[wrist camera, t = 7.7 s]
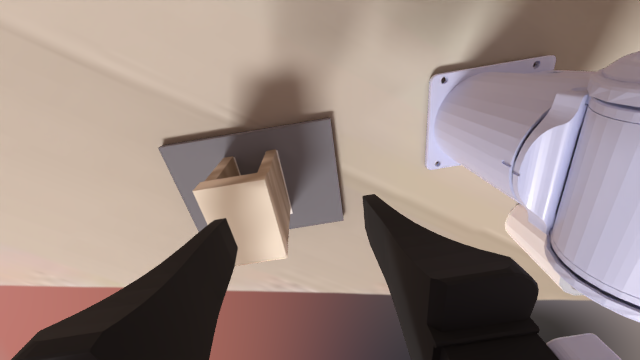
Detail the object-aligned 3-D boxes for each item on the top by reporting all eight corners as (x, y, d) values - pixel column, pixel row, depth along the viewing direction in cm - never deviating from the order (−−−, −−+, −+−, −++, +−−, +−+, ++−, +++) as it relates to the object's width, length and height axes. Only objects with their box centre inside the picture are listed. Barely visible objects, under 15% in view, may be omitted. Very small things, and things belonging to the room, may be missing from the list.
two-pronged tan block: (275, 146, 20) (264, 179, 14) (291, 210, 23) (287, 257, 17) (222, 155, 20) (192, 191, 14) (245, 218, 23) (227, 267, 17)
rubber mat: (329, 117, 20) (330, 119, 19) (342, 216, 24) (343, 221, 23) (162, 145, 20) (157, 148, 19) (206, 238, 24) (203, 243, 24)
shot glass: (506, 251, 28) (565, 307, 21) (492, 210, 25) (555, 261, 19) (568, 223, 26) (650, 274, 20) (560, 177, 24) (653, 219, 17)
